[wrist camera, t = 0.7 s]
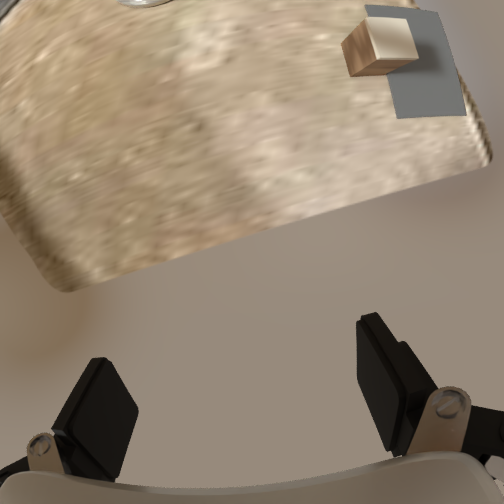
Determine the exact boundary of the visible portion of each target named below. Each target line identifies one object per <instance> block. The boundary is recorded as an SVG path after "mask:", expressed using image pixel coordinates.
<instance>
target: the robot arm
mask: <svg viewBox="0 0 504 504" xmlns="http://www.w3.org/2000/svg"><path fill="white" fill-rule="evenodd" d="M116 1H117V2H118V3H120V4H122V5H124V6H127V7H133V8H145V7H151V6H156V5H159V4H163V3H165V2H167V1H170V0H116ZM356 337H357V380H358V384H359V386H360V388H361V391H362V393H363V396H364V398H365V400H366V403H367V405H368V408H369V410H370V413H371V415H372V417H373V420H374V422H375V425H376V427H377V430H378V432H379V435H380V437H381V440H382V442H383V445H384V448H385V450H386V451H387V452H388V451H391V452H392V454H393V457H397V456H400V455H402V457H397V458H392V459H389V460H385V461H381V462H377V463H373V464H369V465H365V466H362V467H358V468H354V469H349V470H346V471H341V472H337V473H332V474H327V475H322V476H317V477H312V478H306V479H301V480H295V481H288V482H281V483H274V484H265V485H256V486H245V487H229V488H165V487H149V486H138V485H129V484H121V483H114V482H115V479H116V478H118V476H119V474H120V471H121V467H122V464H123V461H124V457H125V454H126V451H127V448H128V445H129V442H130V439H131V435H132V432H133V429H134V426H135V423H136V420H137V417H138V412H139V411H138V407H137V405H136V403H135V402H134V400H133V398H132V397H131V395H130V393H129V392H128V390H127V388H126V387H125V385H124V383H123V382H122V380H121V378H120V376H119V375H118V373H117V371H116V369H115V367H114V365H113V364H112V362H111V361H108V359H107V358H105V357H100V358H92V359H91V360H90V362H89V364H88V365H87V367H86V369H85V371H84V372H83V373H82V375H81V377H80V379H79V380H78V382H77V384H76V385H75V387H74V389H73V390H72V392H71V394H70V396H69V397H68V399H67V401H66V403H65V404H64V406H63V408H62V410H61V412H60V413H59V415H58V417H57V419H56V421H55V423H54V425H53V426H52V428H51V429H52V430H53V432H54V433H55V435H54V436H52V435H51V434H50V433H40V434H37V435H36V436H34V437H33V438H32V439H31V440H30V441H29V443H28V445H27V456H26V457H24V458H22V459H20V460H18V461H16V462H15V463H12V464H10V465H9V466H6V467H4V468H3V469H1V470H0V504H504V497H503V495H502V493H501V491H500V490H499V488H498V486H497V485H496V483H495V481H494V480H495V479H498V480H500V481H502V482H504V411H498V410H493V409H487V408H483V407H478V406H473V405H471V399H470V396H469V395H468V394H467V393H466V392H465V391H463V390H462V389H460V388H457V387H451V386H450V387H449V386H447V387H442V388H440V389H438V387H437V386H436V384H435V383H434V381H433V380H432V379H431V377H430V375H429V374H428V372H427V371H426V370H425V368H424V367H423V365H422V364H421V362H420V361H419V360H418V358H417V357H416V355H415V354H414V352H413V351H412V349H411V348H410V347H409V345H408V344H407V343H406V342H405V341H401V342H398V341H397V340H396V339H395V337H394V336H393V334H392V333H391V331H390V330H389V328H388V327H387V326H386V324H385V323H384V321H383V320H382V319H381V317H380V316H379V314H378V313H377V312H374V313H370V314H367V315H362V316H361V320H359V321H357V322H356Z"/></svg>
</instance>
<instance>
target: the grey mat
mask: <svg viewBox="0 0 504 504" xmlns="http://www.w3.org/2000/svg"><path fill="white" fill-rule="evenodd" d="M365 8H366V11H367V13H368V16H369V17H385V18H400V19H406V20H407V23H408V26H409V29H410V32H411V34H412V37H413V41H414V44H415V47H416V50H417V53H418V57H419V59H416V60H414V61H412V62H410V63H408V64H405V65H403V66H401V67H399V68H397V69H395V70H393V71H390V72H388V73H386V74H387V77H388V81H389V85H390V89H391V93H392V98H393V102H394V107H395V111H396V116H397V119H400V118H414V117H432V116H466V110H465V105H464V100H463V95H462V91H461V87H460V82H459V78H458V74H457V71H456V67H455V63H454V60H453V56H452V53H451V50H450V47H449V43H448V40H447V37H446V34H445V32H444V29H443V26H442V23H441V20H440V18H439V15H438V13H437V12H432V11H427V10H420V9H413V8H404V7H394V6H381V5H365Z"/></svg>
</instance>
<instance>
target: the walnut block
mask: <svg viewBox="0 0 504 504" xmlns="http://www.w3.org/2000/svg"><path fill="white" fill-rule="evenodd" d="M341 46H342V50H343V53H344V56H345V60H346V63H347V67H348V71H349V74H350V77H357V76H374V75H384V74H386V73H388V72H390V71H393V70H395V69H397V68H399V67H401V66H403V65H405V64H408V63H410V62H412V61H414V60H416V59H419V57H418V53H417V50H416V47H415V44H414V41H413V37H412V34H411V32H410V29H409V26H408V23H407V20H406V19H400V18H385V17H366V18H365V19H364V20H363V21H362V22H361V23H360V24H359V25H358V26H357V27H356V28H355V29H354V30H353V31H352V33H351V34H350V35H349V36H348V37H347V38H346V39H345V40H344V41H343V42H342V43H341Z"/></svg>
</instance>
